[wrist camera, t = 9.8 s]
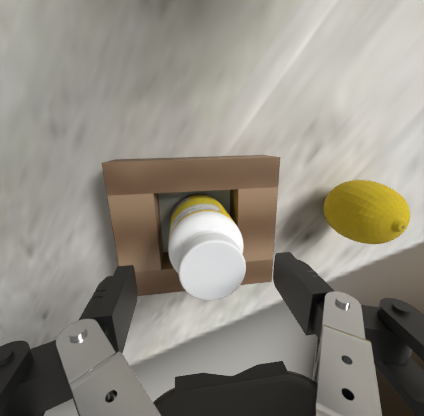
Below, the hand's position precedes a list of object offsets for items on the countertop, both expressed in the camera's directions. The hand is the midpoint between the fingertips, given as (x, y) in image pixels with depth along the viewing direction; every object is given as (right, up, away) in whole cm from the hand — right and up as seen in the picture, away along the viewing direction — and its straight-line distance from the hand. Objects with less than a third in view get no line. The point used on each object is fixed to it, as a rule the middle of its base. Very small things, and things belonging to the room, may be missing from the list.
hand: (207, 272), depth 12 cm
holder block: (-1, +3, +10) cm, 10 cm away
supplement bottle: (-1, +3, +10) cm, 10 cm away
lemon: (+13, +5, +12) cm, 18 cm away
